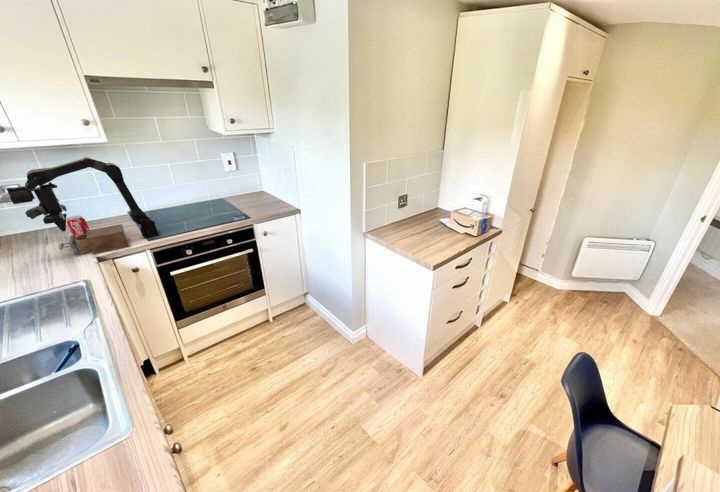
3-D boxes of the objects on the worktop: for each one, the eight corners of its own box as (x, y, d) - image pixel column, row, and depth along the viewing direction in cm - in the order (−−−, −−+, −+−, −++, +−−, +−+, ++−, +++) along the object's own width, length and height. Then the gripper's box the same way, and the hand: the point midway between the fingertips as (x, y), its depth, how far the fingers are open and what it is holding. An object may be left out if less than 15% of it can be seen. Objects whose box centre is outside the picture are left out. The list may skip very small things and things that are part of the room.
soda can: (96, 236, 172) (86, 215, 166) (81, 242, 166) (71, 220, 160) (86, 235, 173) (76, 214, 168) (71, 240, 167) (61, 219, 162)
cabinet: (93, 254, 155) (86, 238, 151) (94, 245, 163) (87, 230, 159) (129, 246, 163) (122, 231, 159) (127, 238, 171) (121, 224, 167)
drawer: (62, 258, 149) (55, 245, 146) (64, 250, 156) (57, 237, 153) (109, 248, 158) (103, 236, 155) (108, 241, 165) (103, 229, 162)
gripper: (25, 196, 144) (42, 228, 151) (17, 208, 131) (36, 242, 138) (59, 192, 150) (74, 223, 157) (55, 203, 138) (71, 236, 145)
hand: (64, 231), depth 149 cm, fingers closed
